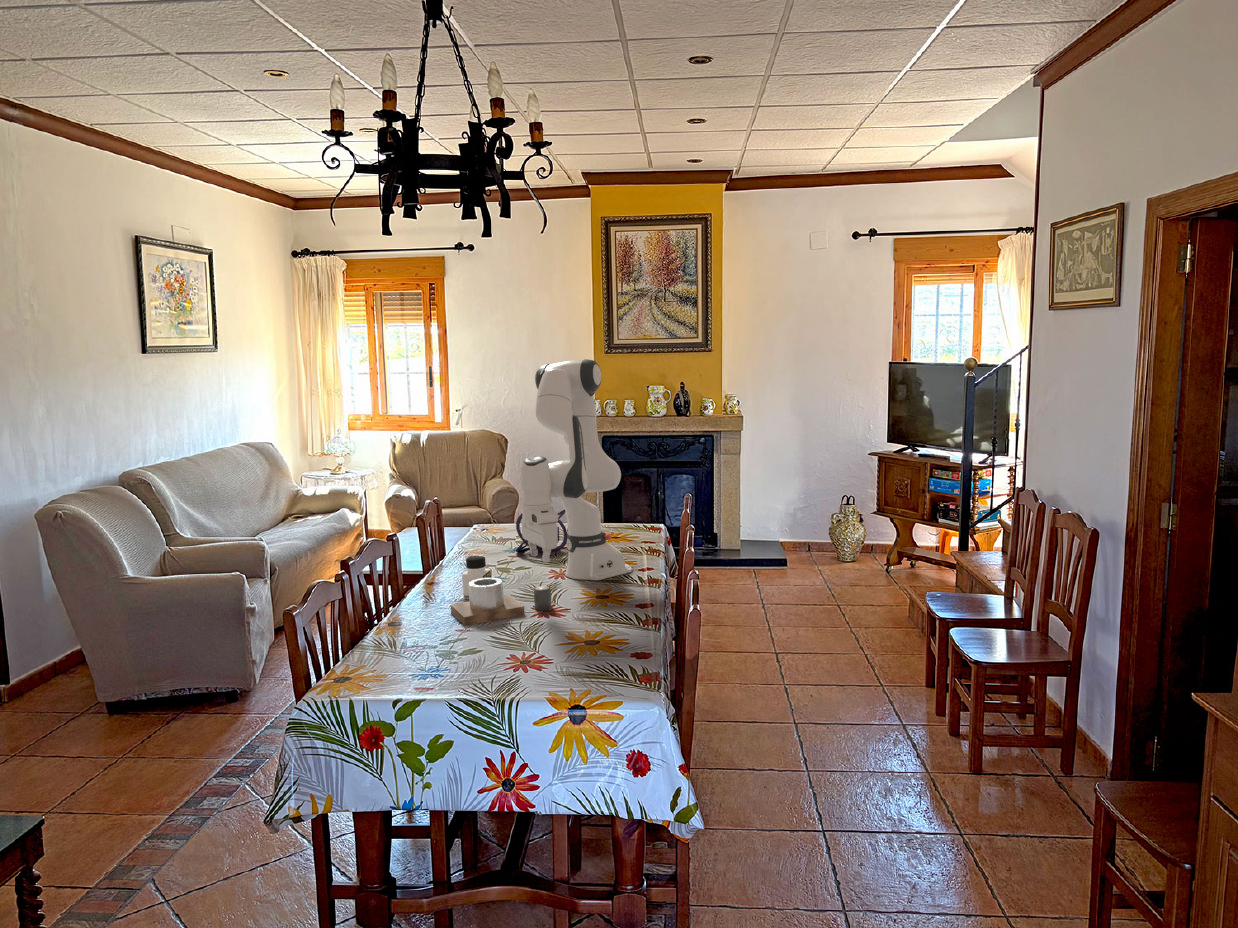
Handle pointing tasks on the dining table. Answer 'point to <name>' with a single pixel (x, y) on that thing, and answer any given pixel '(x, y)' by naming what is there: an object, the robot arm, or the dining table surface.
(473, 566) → the medicine bottle
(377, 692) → the dining table surface
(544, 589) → the gray white-topped cylinder
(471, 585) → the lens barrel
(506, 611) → the mounting block
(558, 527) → the decorative bottle
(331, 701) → the dining table surface
